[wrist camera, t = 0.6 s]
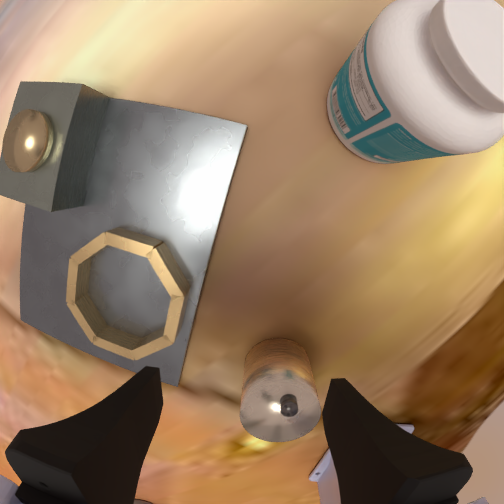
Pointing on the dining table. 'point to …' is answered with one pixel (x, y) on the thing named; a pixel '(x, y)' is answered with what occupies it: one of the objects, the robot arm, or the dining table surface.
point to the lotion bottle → (141, 502)
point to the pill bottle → (423, 82)
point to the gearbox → (115, 218)
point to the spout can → (278, 392)
